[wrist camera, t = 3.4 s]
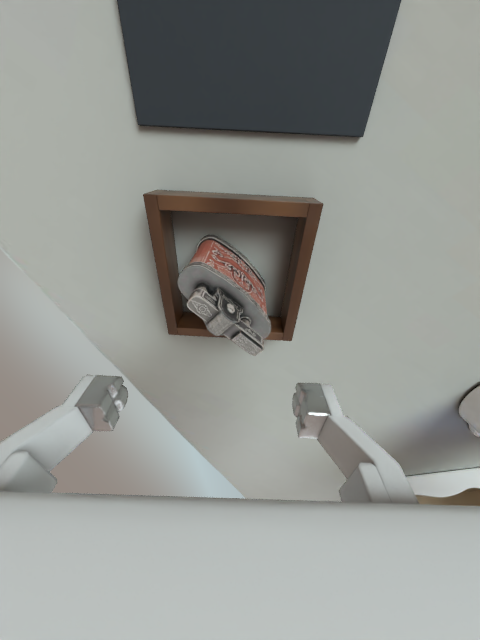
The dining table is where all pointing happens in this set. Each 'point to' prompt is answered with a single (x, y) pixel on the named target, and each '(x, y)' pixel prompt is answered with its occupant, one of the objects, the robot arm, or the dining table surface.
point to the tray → (167, 201)
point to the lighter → (227, 294)
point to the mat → (257, 63)
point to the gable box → (447, 487)
